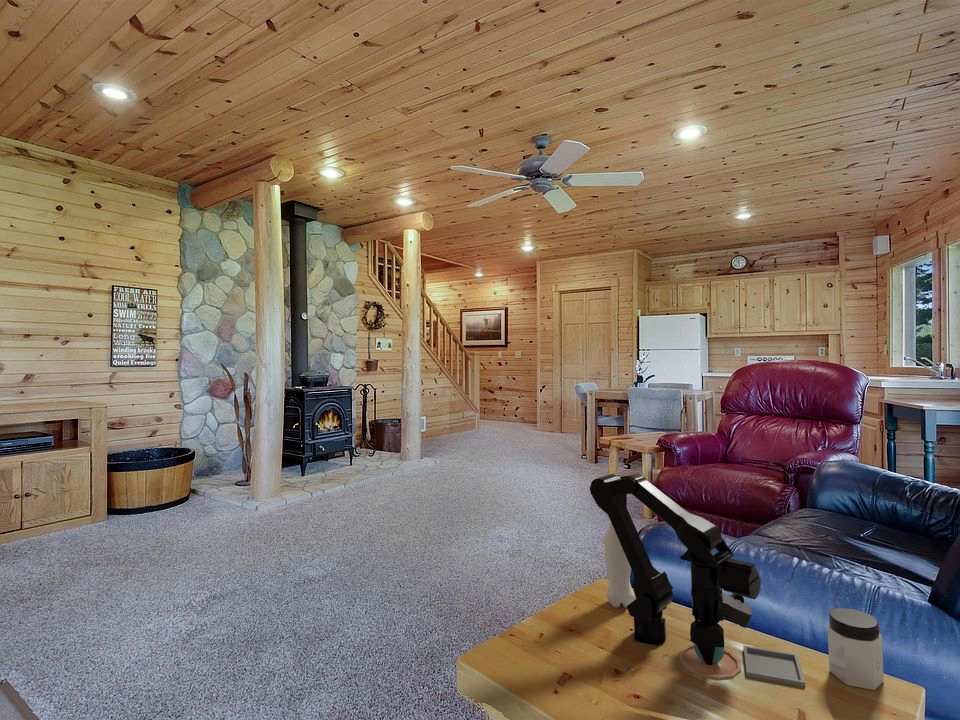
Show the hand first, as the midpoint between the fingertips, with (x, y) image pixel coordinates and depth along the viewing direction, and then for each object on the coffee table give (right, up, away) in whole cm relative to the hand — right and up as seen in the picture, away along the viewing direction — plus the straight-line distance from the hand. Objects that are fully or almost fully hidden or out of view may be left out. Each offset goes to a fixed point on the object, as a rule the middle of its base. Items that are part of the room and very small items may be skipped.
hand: (709, 656), depth 110 cm
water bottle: (-11, -2, +28) cm, 30 cm away
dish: (0, -2, 0) cm, 2 cm away
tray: (+12, -1, -3) cm, 12 cm away
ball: (0, -1, 0) cm, 1 cm away
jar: (+27, -1, -7) cm, 28 cm away
